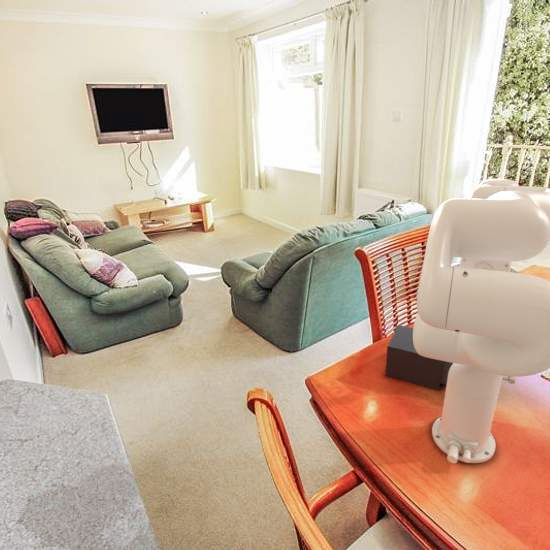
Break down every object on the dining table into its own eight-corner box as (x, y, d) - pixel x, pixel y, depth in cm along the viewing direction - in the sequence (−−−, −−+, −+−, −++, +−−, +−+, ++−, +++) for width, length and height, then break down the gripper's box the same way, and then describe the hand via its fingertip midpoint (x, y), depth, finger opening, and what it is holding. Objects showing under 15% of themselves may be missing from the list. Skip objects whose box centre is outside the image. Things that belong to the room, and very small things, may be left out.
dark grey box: (445, 364, 106) (449, 335, 102) (438, 390, 97) (442, 359, 93) (396, 352, 113) (398, 324, 109) (385, 375, 104) (387, 346, 100)
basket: (511, 379, 98) (517, 354, 95) (510, 406, 90) (517, 379, 86) (438, 361, 107) (441, 338, 103) (431, 384, 98) (434, 359, 95)
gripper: (445, 237, 84) (436, 304, 91) (537, 246, 76) (520, 319, 83) (449, 228, 90) (441, 292, 97) (535, 235, 82) (520, 305, 88)
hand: (477, 304), depth 90 cm, fingers open, 9 cm apart
